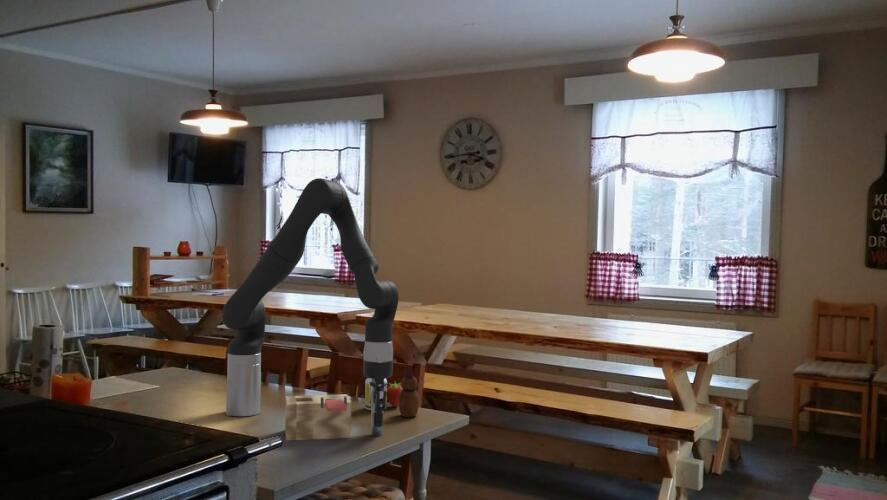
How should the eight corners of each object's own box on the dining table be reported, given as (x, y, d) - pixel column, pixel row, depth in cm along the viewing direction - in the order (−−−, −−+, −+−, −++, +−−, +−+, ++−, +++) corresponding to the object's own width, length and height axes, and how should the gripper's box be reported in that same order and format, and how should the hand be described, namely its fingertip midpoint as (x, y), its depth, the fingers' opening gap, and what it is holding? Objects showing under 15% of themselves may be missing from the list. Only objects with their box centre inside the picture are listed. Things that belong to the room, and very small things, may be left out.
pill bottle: (383, 412, 222) (384, 372, 222) (362, 410, 223) (362, 371, 223) (389, 407, 229) (390, 368, 228) (368, 405, 230) (369, 367, 230)
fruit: (396, 409, 226) (396, 382, 226) (382, 407, 228) (382, 380, 228) (406, 406, 230) (407, 379, 230) (392, 403, 233) (393, 377, 233)
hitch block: (286, 442, 188) (287, 399, 188) (285, 430, 199) (285, 389, 199) (351, 439, 192) (352, 397, 192) (346, 427, 203) (347, 388, 203)
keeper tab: (328, 411, 182) (328, 407, 182) (324, 402, 191) (324, 398, 191) (346, 411, 183) (346, 407, 183) (342, 402, 192) (342, 398, 192)
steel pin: (371, 436, 195) (372, 392, 195) (370, 433, 198) (370, 390, 198) (383, 436, 196) (384, 392, 195) (381, 432, 199) (382, 390, 199)
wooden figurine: (398, 413, 221) (399, 361, 221) (418, 413, 222) (419, 361, 221) (398, 418, 215) (399, 365, 214) (419, 418, 215) (420, 365, 215)
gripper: (360, 354, 202) (359, 418, 203) (367, 363, 189) (366, 432, 189) (388, 353, 204) (387, 417, 205) (397, 362, 191) (396, 431, 191)
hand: (377, 424), depth 197 cm, fingers open, 3 cm apart
